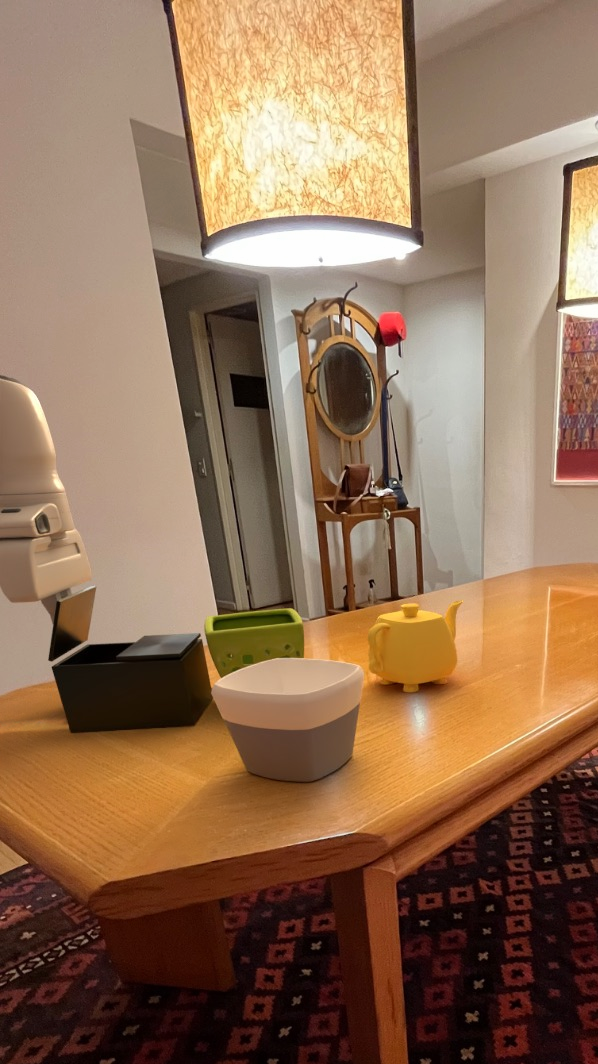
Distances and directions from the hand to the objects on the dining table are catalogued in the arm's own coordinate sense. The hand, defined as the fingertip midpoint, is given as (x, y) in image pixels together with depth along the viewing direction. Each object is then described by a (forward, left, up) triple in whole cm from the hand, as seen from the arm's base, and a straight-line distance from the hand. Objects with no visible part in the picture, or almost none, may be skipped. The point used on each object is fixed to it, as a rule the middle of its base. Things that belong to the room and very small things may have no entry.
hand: (64, 624), depth 94 cm
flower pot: (+25, +4, -14) cm, 29 cm away
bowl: (+33, -23, -14) cm, 43 cm away
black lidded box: (+8, 0, -14) cm, 16 cm away
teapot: (+50, +10, -14) cm, 53 cm away
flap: (+2, 0, 0) cm, 2 cm away
